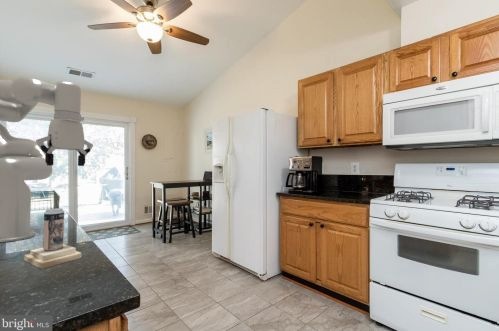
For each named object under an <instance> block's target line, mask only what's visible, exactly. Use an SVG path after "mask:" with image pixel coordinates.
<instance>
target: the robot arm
mask: <svg viewBox="0 0 499 331" xmlns="http://www.w3.org/2000/svg"><path fill="white" fill-rule="evenodd" d="M81 97H82V89H81V87H80V85H78V84H76V83H75V82H69V81H57V82H56V83H54V84H53V83H49V82H47V81H43V80H41V79H37V78H33V77H24V76H23V77H22V76H18V77H16V78H15V79H0V121H2V122H7V123H19V122H21V121H22V120H24V119H25V118H26V117H27V116H28V115H29V114H30V112H32V110H34V108H35V107H36V106H37V105H38V103H42V104H44V105H49V106H53V108H54V110H53V119H51V120H50V123H49V125H48V131H47V136H43V137H41V138H40V137H39V138H38V139H36V140H33V139H30V138H23V137H21V138H20V137H14V136H13V135H12V134H10V132H9V131H8V129H7V128H6V127H5V126H4V125H3V124H2V123H0V243H6V242H15V241H22V240H26V239H29V238H33V237H34V236H35V235H36V232H35V231H34V230H31V210H32V206H31V205H32V200H31V199H32V191H31V188H30V187H29V185H28V184H27V182H25V181H39V180H40V181H41V180H46V179H48V178H49V177H51V176H52V174H53V165H54V161H55V160H54V153H53V152H54V151H55V150H67V151H76V152H77V153H78V156H77V166H78V167H85V164H86V156H87V155H88V154H89V153H90V152H91V150H92V148H93V147H94V144H93V143H92V142H89V141H87V140H86V139H85V134H84V133H85V131H84V127H83V123H81V122H84V121H85V118H84V117H83V116H82V114H81V107H82V106H81V104H82V103H81V102H82V99H81ZM45 142H46V145H45ZM85 147H86V148H85Z"/></svg>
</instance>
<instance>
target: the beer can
mask: <svg viewBox="0 0 499 331" xmlns="http://www.w3.org/2000/svg"><path fill="white" fill-rule="evenodd" d="M64 230H65V210H64V209H63V208H60V207H58V208H55V207H54V208H47V209H46V210H45V211H44V213H43V234H42V235H43V238H42V240H43V241H42V242H43V243H42V247H43V249H44V250H46V251H53V250H58V249H60V248H61V247H63V244H64V234H65V231H64Z"/></svg>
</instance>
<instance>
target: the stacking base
mask: <svg viewBox="0 0 499 331" xmlns="http://www.w3.org/2000/svg"><path fill="white" fill-rule="evenodd" d="M82 255H83V254H82V252H80V251H78V250H77V249H76V247H74V246H70V245H68V244H65V243H63V247H61V248H60V249H58V250H53V251H46V250H44V249H43V246H42V247H38V248H34V249H30V253H27V254H24V255H23V261H25V262H27V263H29V264H31V266H32V265H33V266H34V267H36V268H39V269H41V270H43V269H47V268H51V267H53V266H58V265H62V264H64V263H68V262H72V261H76V260H79V259H81V258H83V257H82Z"/></svg>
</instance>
